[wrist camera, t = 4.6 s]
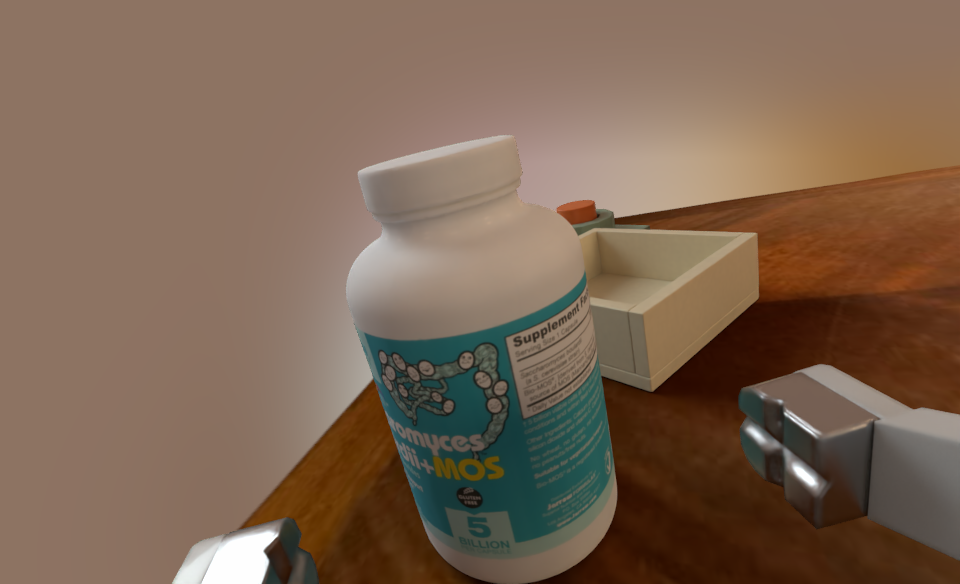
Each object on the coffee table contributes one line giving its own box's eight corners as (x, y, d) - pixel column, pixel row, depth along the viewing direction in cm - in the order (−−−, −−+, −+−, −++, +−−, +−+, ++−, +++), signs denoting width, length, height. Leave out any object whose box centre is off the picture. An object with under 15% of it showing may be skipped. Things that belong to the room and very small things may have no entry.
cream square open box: (493, 340, 32) (479, 283, 31) (601, 277, 39) (594, 227, 37) (652, 393, 23) (642, 313, 22) (759, 298, 30) (757, 232, 28)
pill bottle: (393, 521, 19) (270, 189, 14) (520, 422, 23) (454, 141, 19) (525, 651, 13) (389, 172, 9) (662, 490, 17) (617, 108, 13)
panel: (519, 263, 48) (512, 229, 47) (570, 238, 52) (565, 207, 51) (599, 272, 40) (593, 233, 39) (651, 242, 44) (647, 206, 43)
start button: (551, 227, 46) (548, 210, 45) (575, 217, 48) (572, 200, 47) (580, 228, 43) (577, 210, 42) (605, 217, 45) (602, 199, 44)
